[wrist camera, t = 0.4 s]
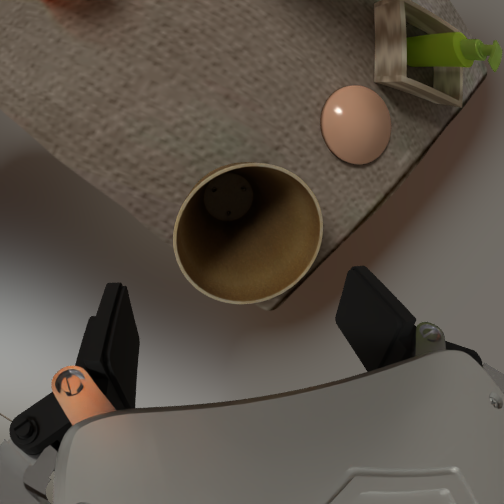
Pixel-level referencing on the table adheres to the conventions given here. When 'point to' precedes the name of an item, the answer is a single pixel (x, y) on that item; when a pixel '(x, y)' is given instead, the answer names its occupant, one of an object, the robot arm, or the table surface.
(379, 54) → the open wooden box
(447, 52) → the soap dispenser
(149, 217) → the table surface
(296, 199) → the plant pot
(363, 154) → the peach oval pebble
